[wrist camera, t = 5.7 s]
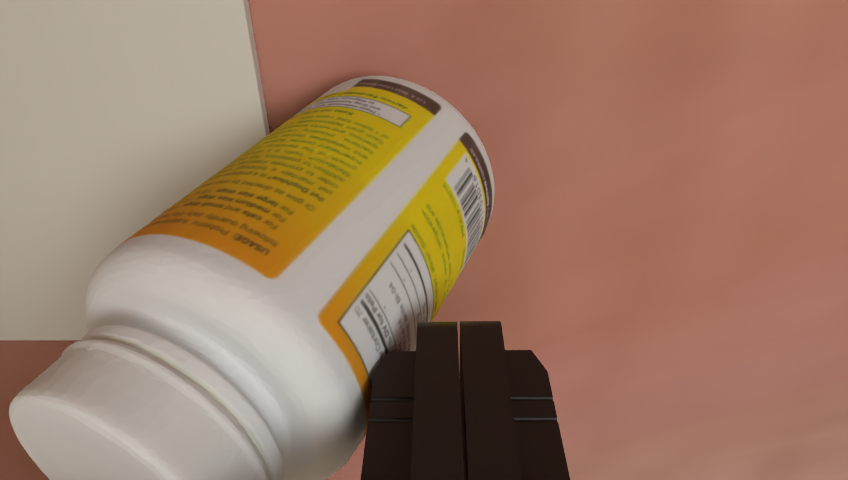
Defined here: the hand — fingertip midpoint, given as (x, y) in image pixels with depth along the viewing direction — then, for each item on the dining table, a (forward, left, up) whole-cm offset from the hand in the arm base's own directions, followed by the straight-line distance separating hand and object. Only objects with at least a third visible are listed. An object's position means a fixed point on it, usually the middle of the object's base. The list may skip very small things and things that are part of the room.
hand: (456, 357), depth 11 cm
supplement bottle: (0, -1, -7) cm, 7 cm away
